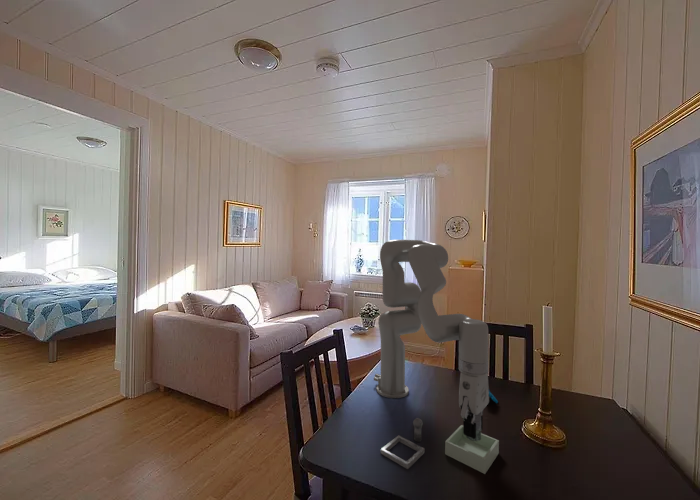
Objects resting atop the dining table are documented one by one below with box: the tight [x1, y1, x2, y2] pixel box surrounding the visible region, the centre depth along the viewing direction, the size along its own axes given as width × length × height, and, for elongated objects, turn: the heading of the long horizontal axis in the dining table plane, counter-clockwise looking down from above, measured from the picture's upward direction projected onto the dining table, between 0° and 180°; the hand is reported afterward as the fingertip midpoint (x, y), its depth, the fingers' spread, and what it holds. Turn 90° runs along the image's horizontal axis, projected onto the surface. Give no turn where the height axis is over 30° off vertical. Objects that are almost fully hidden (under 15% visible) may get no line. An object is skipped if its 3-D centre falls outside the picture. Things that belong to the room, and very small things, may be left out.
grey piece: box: [380, 417, 425, 470], centre depth 86 cm, size 9×14×6 cm, turn 137°
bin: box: [444, 424, 500, 475], centre depth 84 cm, size 11×11×4 cm
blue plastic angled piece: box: [489, 390, 499, 404], centre depth 114 cm, size 11×6×10 cm
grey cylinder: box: [466, 408, 482, 441], centre depth 83 cm, size 4×4×9 cm
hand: (473, 431), depth 83 cm, fingers closed on grey cylinder, 4 cm apart
